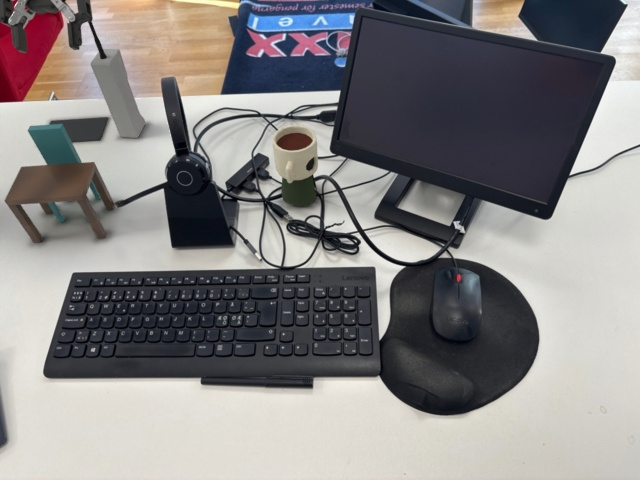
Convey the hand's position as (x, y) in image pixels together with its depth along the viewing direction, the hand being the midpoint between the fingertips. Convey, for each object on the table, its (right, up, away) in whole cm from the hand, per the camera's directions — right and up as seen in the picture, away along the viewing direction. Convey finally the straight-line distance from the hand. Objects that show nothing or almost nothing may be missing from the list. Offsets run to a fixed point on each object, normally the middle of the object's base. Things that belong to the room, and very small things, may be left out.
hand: (48, 50), depth 84 cm
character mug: (+40, -23, +8) cm, 47 cm away
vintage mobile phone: (+6, -8, +23) cm, 25 cm away
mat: (-7, -8, +23) cm, 26 cm away
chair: (+1, -25, +8) cm, 27 cm away
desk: (+2, -28, +6) cm, 29 cm away
